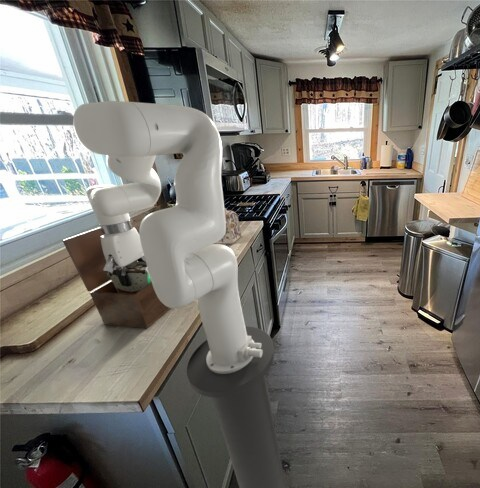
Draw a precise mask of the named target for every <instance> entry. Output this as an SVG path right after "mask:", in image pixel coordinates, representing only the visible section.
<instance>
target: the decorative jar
mask: <svg viewBox="0 0 480 488" xmlns="http://www.w3.org/2000/svg"><path fill="white" fill-rule="evenodd" d="M224 209H225V219H226V233H225V235H224V237H223V238H222V239H221V240H219V241H217V242H216V243H214V244H222V245H233V244H235V243H236V242H237V241H238V240H239V239H240V238H242V231H241V226H240V221H239V215H238V214H237V213H236V212H235V211H233V210H231V209H227V208H226V207H224Z"/></svg>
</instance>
